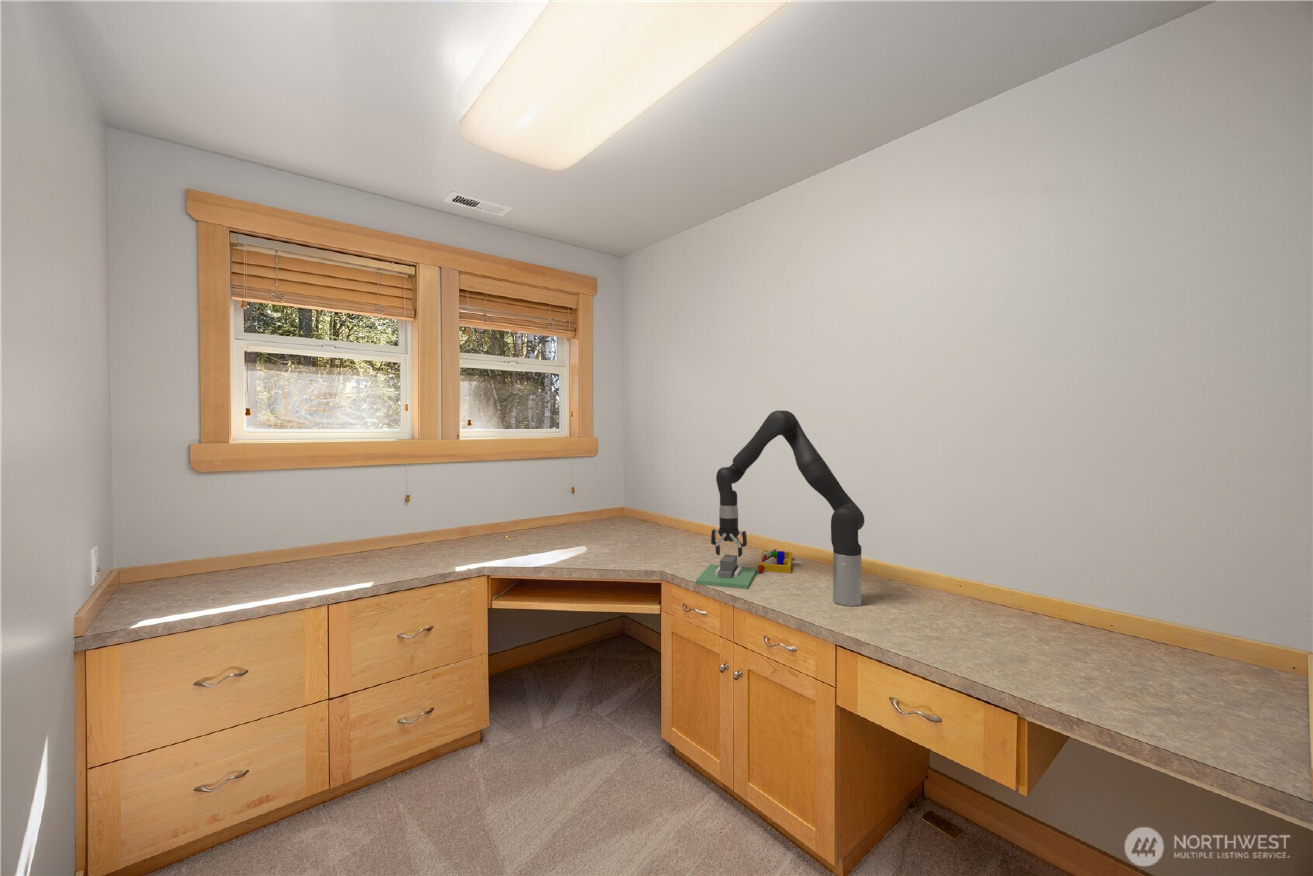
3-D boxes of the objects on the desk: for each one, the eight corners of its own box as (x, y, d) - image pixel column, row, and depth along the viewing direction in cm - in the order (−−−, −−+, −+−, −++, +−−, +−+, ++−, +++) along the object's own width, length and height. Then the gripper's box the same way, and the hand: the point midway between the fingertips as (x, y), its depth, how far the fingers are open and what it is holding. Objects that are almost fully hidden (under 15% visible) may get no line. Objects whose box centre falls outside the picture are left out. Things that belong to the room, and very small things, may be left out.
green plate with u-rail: (756, 571, 221) (757, 564, 221) (747, 589, 199) (747, 581, 199) (710, 567, 228) (710, 560, 228) (695, 583, 205) (695, 576, 205)
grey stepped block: (725, 568, 221) (725, 554, 221) (737, 569, 219) (737, 555, 219) (718, 577, 209) (718, 562, 208) (730, 578, 207) (730, 563, 207)
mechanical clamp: (755, 559, 219) (761, 543, 248) (755, 574, 219) (761, 556, 248) (801, 563, 214) (802, 546, 243) (801, 578, 214) (802, 559, 243)
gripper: (709, 516, 213) (709, 556, 214) (744, 518, 209) (745, 559, 209) (713, 513, 220) (713, 552, 221) (747, 515, 216) (748, 554, 216)
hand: (729, 555), depth 215 cm, fingers open, 8 cm apart
